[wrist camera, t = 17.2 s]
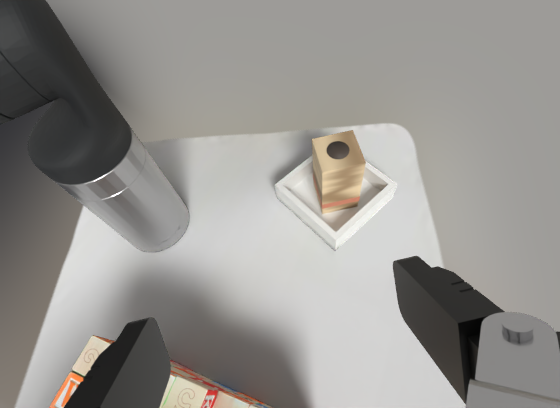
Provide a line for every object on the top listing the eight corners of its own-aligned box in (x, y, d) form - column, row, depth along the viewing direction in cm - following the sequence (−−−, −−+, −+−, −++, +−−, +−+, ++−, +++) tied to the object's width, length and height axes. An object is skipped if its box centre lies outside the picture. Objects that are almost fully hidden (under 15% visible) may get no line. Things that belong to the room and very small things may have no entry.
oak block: (321, 214, 46) (322, 172, 38) (313, 184, 49) (311, 138, 40) (358, 206, 46) (366, 162, 38) (347, 177, 49) (352, 129, 40)
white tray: (277, 198, 49) (274, 185, 46) (332, 152, 52) (333, 137, 49) (335, 251, 44) (336, 240, 41) (392, 197, 47) (397, 183, 44)
